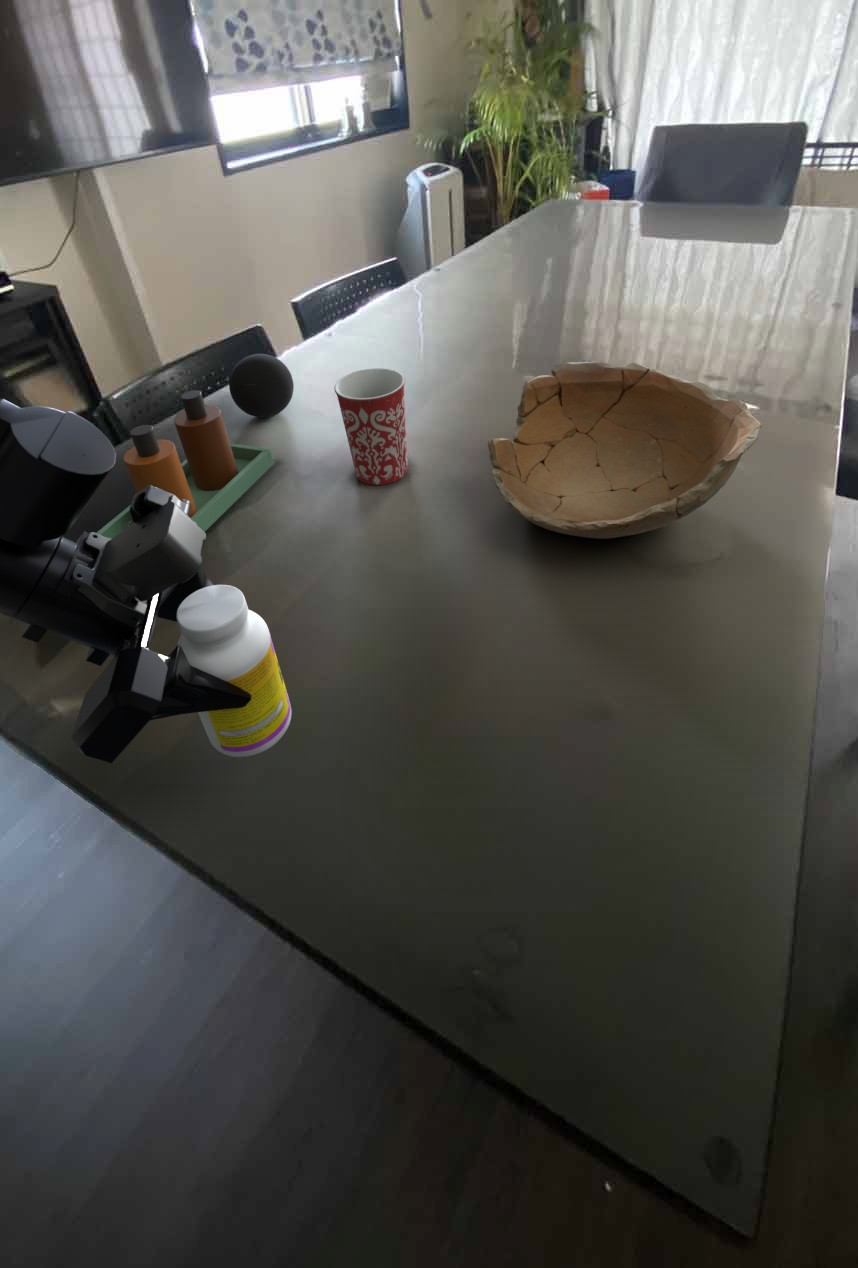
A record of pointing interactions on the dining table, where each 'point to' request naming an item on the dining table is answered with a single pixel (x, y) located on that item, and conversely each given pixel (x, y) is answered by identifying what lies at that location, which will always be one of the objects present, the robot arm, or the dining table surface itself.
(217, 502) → the tray
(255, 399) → the speaker
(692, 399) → the ceramic bowl
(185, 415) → the dark amber bottle
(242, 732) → the supplement bottle
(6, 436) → the robot arm
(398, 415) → the mug
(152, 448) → the amber bottle
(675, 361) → the dining table surface
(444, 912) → the dining table surface
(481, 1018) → the dining table surface
